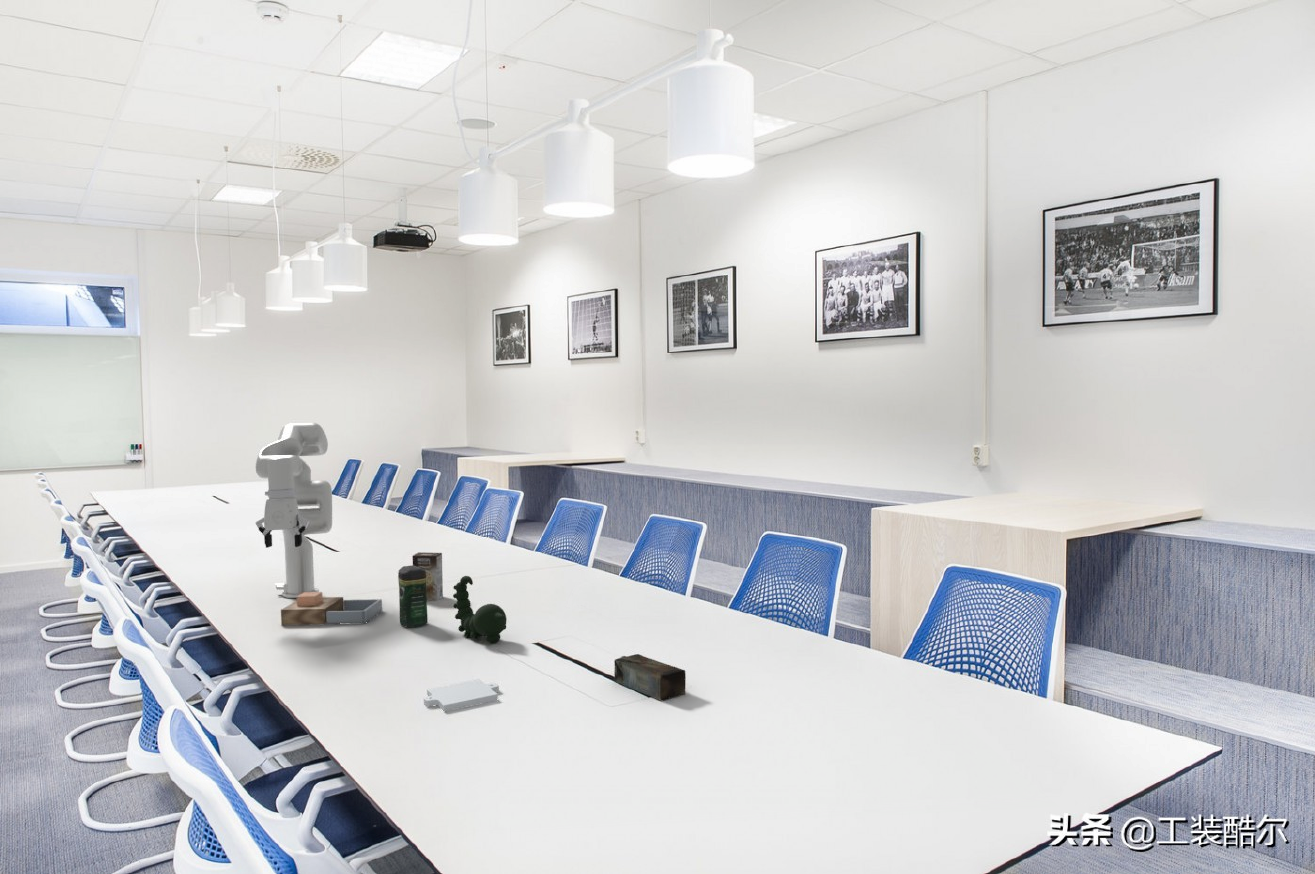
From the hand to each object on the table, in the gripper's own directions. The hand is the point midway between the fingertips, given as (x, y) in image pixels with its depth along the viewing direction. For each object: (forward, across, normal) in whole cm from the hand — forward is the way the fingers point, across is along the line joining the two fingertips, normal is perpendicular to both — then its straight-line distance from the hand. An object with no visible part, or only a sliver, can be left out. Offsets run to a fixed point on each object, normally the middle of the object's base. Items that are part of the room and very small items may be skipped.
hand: (283, 546), depth 283 cm
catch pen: (+24, +23, 0) cm, 33 cm away
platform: (+24, +9, 0) cm, 26 cm away
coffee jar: (+24, +45, -10) cm, 52 cm away
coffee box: (+24, +40, +25) cm, 53 cm away
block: (+19, +8, 0) cm, 21 cm away
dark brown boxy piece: (+26, +122, -71) cm, 143 cm away
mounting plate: (+26, +78, -76) cm, 112 cm away
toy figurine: (+25, +71, -26) cm, 79 cm away
